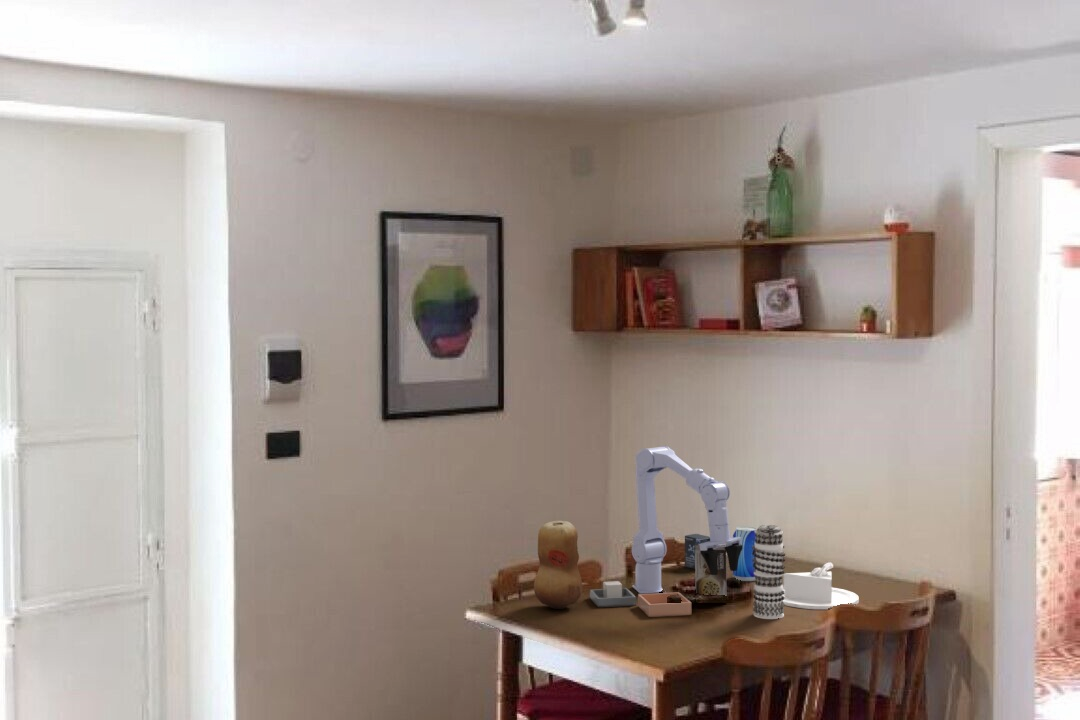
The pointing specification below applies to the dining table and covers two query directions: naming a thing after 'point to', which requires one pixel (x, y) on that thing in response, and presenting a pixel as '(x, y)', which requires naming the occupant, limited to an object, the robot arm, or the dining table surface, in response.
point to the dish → (815, 590)
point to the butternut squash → (558, 565)
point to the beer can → (745, 554)
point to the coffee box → (703, 577)
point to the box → (693, 548)
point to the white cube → (612, 589)
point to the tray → (625, 600)
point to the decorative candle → (768, 572)
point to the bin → (663, 605)
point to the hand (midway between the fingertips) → (724, 572)
